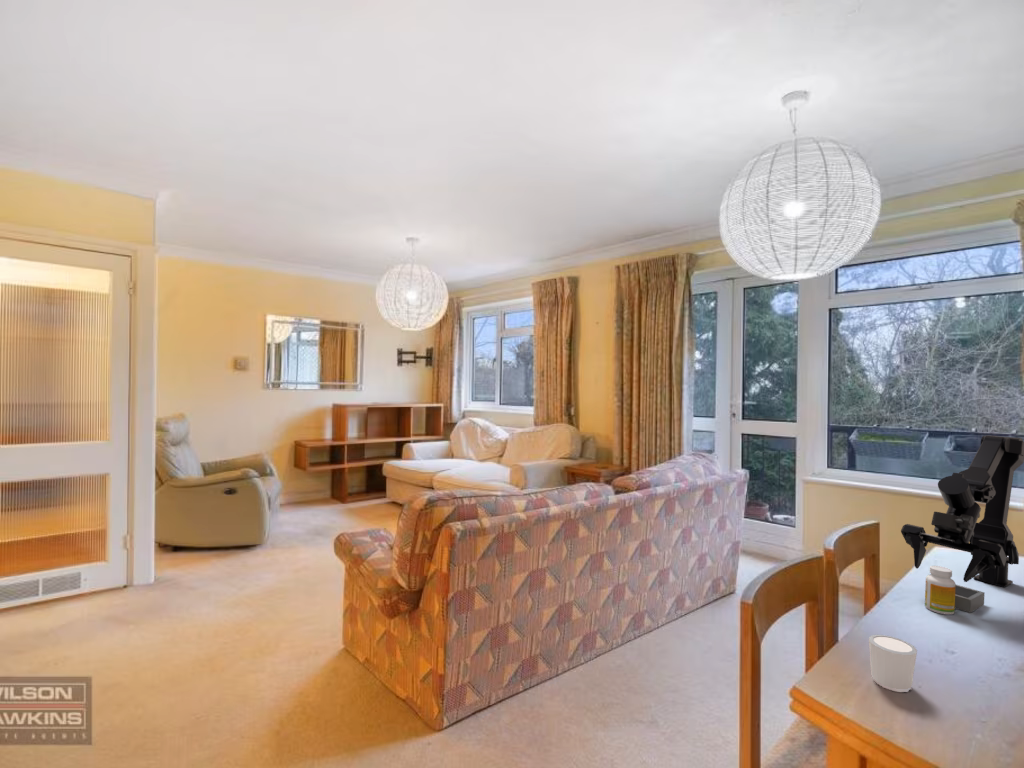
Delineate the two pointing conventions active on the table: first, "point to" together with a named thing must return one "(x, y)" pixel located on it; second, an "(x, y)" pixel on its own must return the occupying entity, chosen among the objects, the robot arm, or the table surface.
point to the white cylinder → (892, 661)
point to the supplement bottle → (940, 591)
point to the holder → (968, 598)
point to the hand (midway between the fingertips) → (939, 573)
